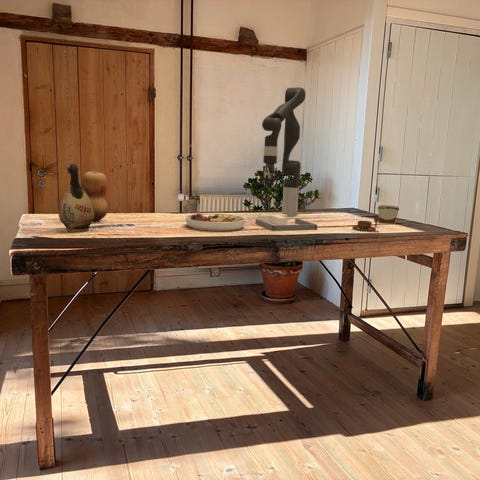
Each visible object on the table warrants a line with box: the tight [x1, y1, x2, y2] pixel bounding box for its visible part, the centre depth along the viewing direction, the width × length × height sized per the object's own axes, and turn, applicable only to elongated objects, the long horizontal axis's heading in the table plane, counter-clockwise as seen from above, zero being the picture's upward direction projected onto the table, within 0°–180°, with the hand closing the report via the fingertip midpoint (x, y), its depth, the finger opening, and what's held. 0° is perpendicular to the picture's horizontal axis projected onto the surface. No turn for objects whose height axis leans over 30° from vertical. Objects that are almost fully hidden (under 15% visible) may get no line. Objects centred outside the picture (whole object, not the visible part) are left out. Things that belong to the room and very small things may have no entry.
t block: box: [258, 213, 288, 225], centre depth 259 cm, size 14×15×4 cm
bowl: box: [185, 212, 247, 232], centre depth 240 cm, size 30×30×8 cm
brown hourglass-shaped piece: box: [81, 171, 109, 222], centre depth 240 cm, size 14×13×25 cm
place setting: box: [352, 216, 380, 233], centre depth 251 cm, size 18×20×6 cm
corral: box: [255, 218, 318, 232], centre depth 249 cm, size 22×25×2 cm
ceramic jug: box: [57, 163, 95, 233], centre depth 213 cm, size 17×15×30 cm
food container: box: [377, 204, 400, 225], centre depth 277 cm, size 12×6×10 cm, turn 84°
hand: (268, 185), depth 268 cm, fingers open, 6 cm apart
